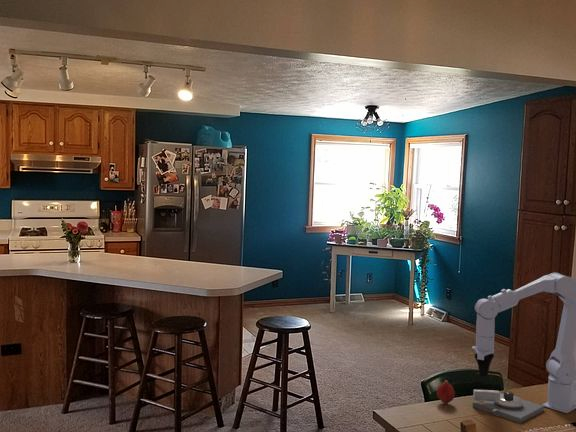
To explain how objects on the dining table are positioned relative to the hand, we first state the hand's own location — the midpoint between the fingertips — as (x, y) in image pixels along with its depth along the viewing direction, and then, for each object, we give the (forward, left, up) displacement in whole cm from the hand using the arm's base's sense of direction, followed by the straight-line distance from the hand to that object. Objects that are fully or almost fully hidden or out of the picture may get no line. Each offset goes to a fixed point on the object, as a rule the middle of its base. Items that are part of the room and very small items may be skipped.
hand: (483, 375), depth 181 cm
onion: (+10, -8, -10) cm, 16 cm away
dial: (0, +5, -8) cm, 9 cm away
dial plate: (-3, +7, -9) cm, 12 cm away
